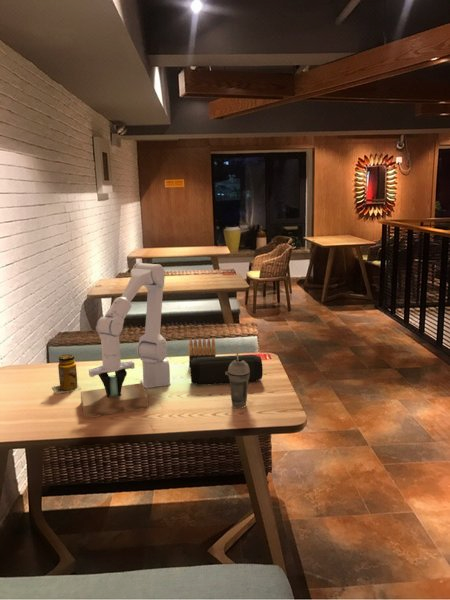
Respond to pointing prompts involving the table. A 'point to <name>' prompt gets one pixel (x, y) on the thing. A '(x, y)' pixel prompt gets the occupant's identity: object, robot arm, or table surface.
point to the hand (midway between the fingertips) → (113, 392)
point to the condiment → (67, 375)
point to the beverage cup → (238, 381)
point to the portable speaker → (222, 369)
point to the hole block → (113, 401)
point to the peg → (113, 386)
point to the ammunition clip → (201, 349)
